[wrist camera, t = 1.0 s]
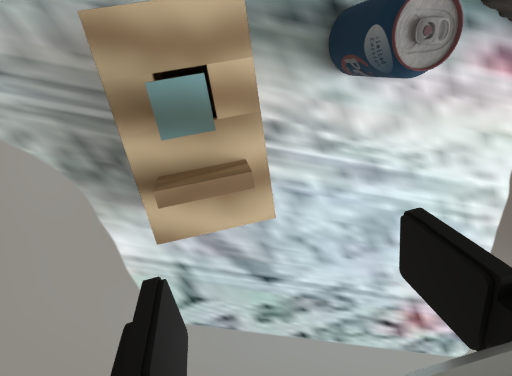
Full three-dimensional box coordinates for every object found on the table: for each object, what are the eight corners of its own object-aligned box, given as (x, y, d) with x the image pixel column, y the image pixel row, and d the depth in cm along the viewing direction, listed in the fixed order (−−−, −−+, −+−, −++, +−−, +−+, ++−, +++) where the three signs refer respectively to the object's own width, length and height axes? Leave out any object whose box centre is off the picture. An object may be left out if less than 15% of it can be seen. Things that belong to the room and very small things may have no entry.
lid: (82, 13, 22) (56, 1, 18) (241, -10, 23) (250, -26, 19) (158, 239, 30) (152, 266, 26) (273, 213, 31) (284, 235, 27)
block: (167, 76, 30) (144, 83, 17) (201, 70, 31) (203, 73, 18) (176, 110, 32) (161, 140, 19) (208, 104, 32) (215, 130, 19)
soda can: (322, 76, 34) (381, 81, 23) (325, 7, 31) (393, -25, 21) (378, 73, 35) (460, 76, 24) (385, 5, 32) (480, -25, 22)
